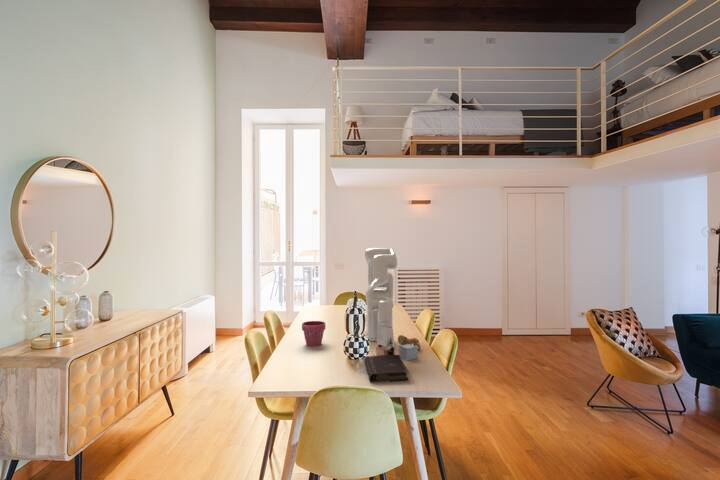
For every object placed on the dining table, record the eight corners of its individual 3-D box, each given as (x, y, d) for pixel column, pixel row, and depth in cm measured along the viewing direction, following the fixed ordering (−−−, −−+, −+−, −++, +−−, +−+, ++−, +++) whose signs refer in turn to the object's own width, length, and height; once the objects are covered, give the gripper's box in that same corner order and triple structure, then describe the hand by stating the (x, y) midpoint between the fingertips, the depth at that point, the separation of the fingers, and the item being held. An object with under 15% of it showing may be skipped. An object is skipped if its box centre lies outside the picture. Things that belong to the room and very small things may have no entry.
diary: (369, 384, 173) (369, 373, 173) (364, 365, 198) (364, 355, 198) (410, 382, 174) (410, 371, 174) (400, 364, 199) (400, 354, 199)
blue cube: (399, 356, 209) (398, 345, 209) (409, 354, 213) (409, 343, 213) (407, 360, 203) (407, 349, 203) (417, 358, 207) (417, 347, 207)
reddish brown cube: (376, 358, 206) (376, 347, 206) (387, 356, 210) (387, 345, 210) (383, 362, 200) (383, 350, 200) (394, 359, 204) (394, 348, 204)
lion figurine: (399, 352, 217) (399, 336, 217) (396, 350, 222) (395, 334, 222) (423, 350, 222) (423, 334, 222) (418, 347, 227) (418, 332, 227)
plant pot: (310, 339, 245) (310, 319, 245) (329, 342, 239) (329, 321, 238) (297, 345, 232) (297, 324, 232) (317, 348, 226) (317, 326, 226)
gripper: (370, 321, 211) (370, 353, 211) (389, 327, 196) (389, 361, 196) (382, 319, 214) (382, 350, 215) (401, 325, 200) (401, 359, 200)
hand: (385, 355), depth 205 cm, fingers open, 9 cm apart
